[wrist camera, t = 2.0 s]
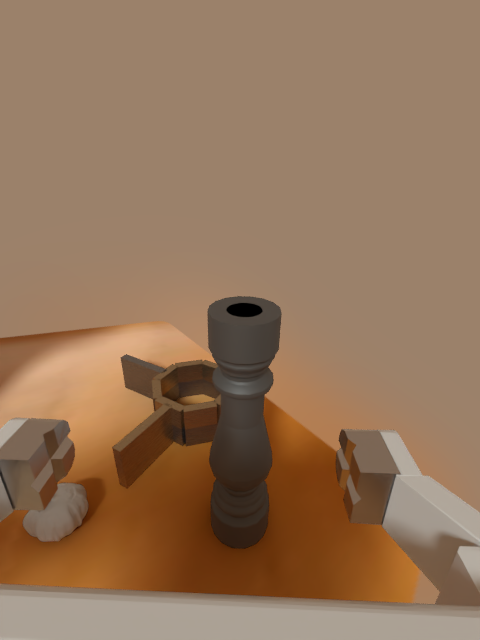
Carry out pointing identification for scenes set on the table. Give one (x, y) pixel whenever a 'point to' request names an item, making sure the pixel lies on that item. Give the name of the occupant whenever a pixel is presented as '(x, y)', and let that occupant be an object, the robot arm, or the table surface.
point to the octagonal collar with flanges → (166, 412)
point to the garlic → (58, 514)
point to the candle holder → (241, 415)
